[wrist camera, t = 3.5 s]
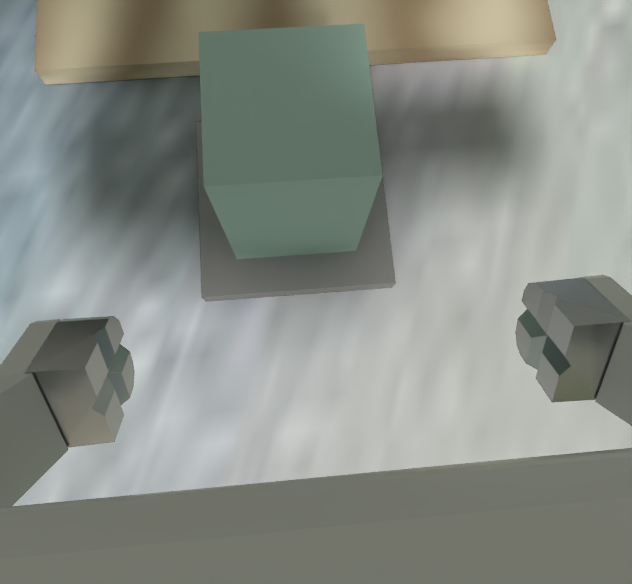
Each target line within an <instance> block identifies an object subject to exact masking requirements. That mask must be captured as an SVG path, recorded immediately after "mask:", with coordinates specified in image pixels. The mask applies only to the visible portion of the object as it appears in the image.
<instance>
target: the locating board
mask: <svg viewBox="0 0 632 584" xmlns="http://www.w3.org/2000/svg"><path fill="white" fill-rule="evenodd" d="M347 24H364V26H365V35H366V43H367V51H368V59H369V65H377V64H393V63H410V62H426V61H443V60H459V59H475V58H492V57H508V56H525V55H541V54H546V53H547V52H548V51H549V49H550V48H551V46H552V45H553V43H554V42H555V40H556V36H555V32H554V27H553V23H552V19H551V14H550V10H549V6H548V1H547V0H37V21H36V46H35V70H34V71H35V72H36V73H37V74H38V75H39V77H40V78H41V79H42V80H43V82H44V83H45V84H46V85H49V84H66V83H82V82H98V81H115V80H131V79H148V78H164V77H180V76H197V75H200V65H199V37H198V32H208V31H228V30H248V29H268V28H288V27H307V26H327V25H347Z"/></svg>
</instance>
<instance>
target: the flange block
mask: <svg viewBox="0 0 632 584" xmlns="http://www.w3.org/2000/svg"><path fill="white" fill-rule="evenodd" d="M198 37H199V65H200V94H201V121H197V122H196V137H197V168H198V199H199V230H200V261H201V292H202V298H203V299H204V300H205V301H206V302H207V301H220V300H233V299H247V298H260V297H273V296H287V295H300V294H313V293H327V292H340V291H353V290H367V289H380V288H392V287H393V285H394V284H395V274H394V266H393V258H392V250H391V242H390V233H389V225H388V217H387V209H386V201H385V193H384V184H383V173H382V165H381V157H380V149H379V141H378V133H377V124H376V116H375V108H374V100H373V92H372V84H371V75H370V67H369V59H368V51H367V43H366V35H365V26H364V24H347V25H327V26H307V27H288V28H268V29H248V30H228V31H208V32H198Z"/></svg>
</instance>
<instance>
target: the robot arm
mask: <svg viewBox="0 0 632 584" xmlns="http://www.w3.org/2000/svg"><path fill="white" fill-rule="evenodd" d="M522 302H523V303H524V305H525V307H526V308H527V310H526V311H525V312H524V313H523V314H522V315H521V316H520V317H519V318H518V321H517V327H516V332H515V333H516V342H517V347H518V350H519V353H520V355H521V357H522V358H523V360H524V361H525V363H526V364H528V365H530V366H532V367H534V368H535V369H537V370H538V371H537V375H536V380H537V381H538V383H539V384H540V385H541V387H542V388H543V390H544V391H545V393H546V394H547V396H548V397H549V399H550V400H551V402H564V401H580V400H596V401H595V402H597V403H598V404H600V405H601V406H603V407H604V408H606V409H607V410H609V411H610V412H612V413H613V414H615V415H616V416H618V417H619V418H621V419H622V420H624V421H625V422H627V423H628V424H630V425H631V426H632V295H630V294H629V293H628V292H627V291H626V290H625V289H623V288H622V287H621V286H620V285H619V284H618V283H617V282H615V281H614V280H613V279H612V278H611V277H608V276H605V275H597V276H589V277H580V278H574V279H564V280H554V281H544V282H535V283H528V285H527V286H526V288H525V290H524V293H523V297H522ZM123 335H124V333H123V330H122V327H121V324H120V322H119V320H118V319H117V318H116V317H114V316H107V317H91V318H74V319H63V320H60V319H57V320H46V321H37V322H34V323H31V324H30V325H29V326H28V328H27V329H26V331H25V332H24V333H23V335H22V336H21V337H20V339H19V340H18V342H17V343H16V344H15V346H14V347H13V349H12V350H11V351H10V353H9V354H8V356H7V357H6V358H5V360H4V361H3V363H2V364H1V365H0V584H632V448H626V449H616V450H605V451H594V452H583V453H573V454H562V455H551V456H540V457H530V458H519V459H508V460H497V461H486V462H476V463H465V464H454V465H443V466H433V467H422V468H412V469H401V470H391V471H380V472H370V473H360V474H349V475H339V476H328V477H318V478H307V479H297V480H287V481H276V482H266V483H255V484H245V485H234V486H224V487H213V488H203V489H192V490H181V491H171V492H160V493H150V494H139V495H129V496H118V497H108V498H97V499H86V500H76V501H65V502H55V503H44V504H34V505H23V506H13V505H14V504H15V503H16V502H17V501H18V500H19V499H20V498H21V497H22V496H23V495H24V494H25V493H26V492H27V491H28V490H29V489H30V488H31V487H32V486H33V485H34V484H35V483H36V482H37V481H38V480H39V479H40V478H41V477H42V476H43V475H44V474H45V473H46V472H47V471H48V470H49V469H50V468H51V467H52V466H53V465H54V464H55V463H56V462H57V461H58V460H59V459H60V458H61V457H62V456H63V455H64V454H65V453H66V452H67V451H68V447H75V446H84V445H92V444H101V443H109V442H115V439H116V436H117V434H118V431H119V428H120V425H121V422H122V419H123V417H124V413H123V410H122V408H121V405H122V404H123V403H124V402H125V401H127V400H128V399H129V398H130V396H131V393H132V390H133V386H134V366H133V360H132V357H131V354H130V351H128V350H127V349H126V348H125V347H123V346H122V345H121V344H120V342H121V340H122V337H123ZM12 506H13V507H12Z"/></svg>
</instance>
